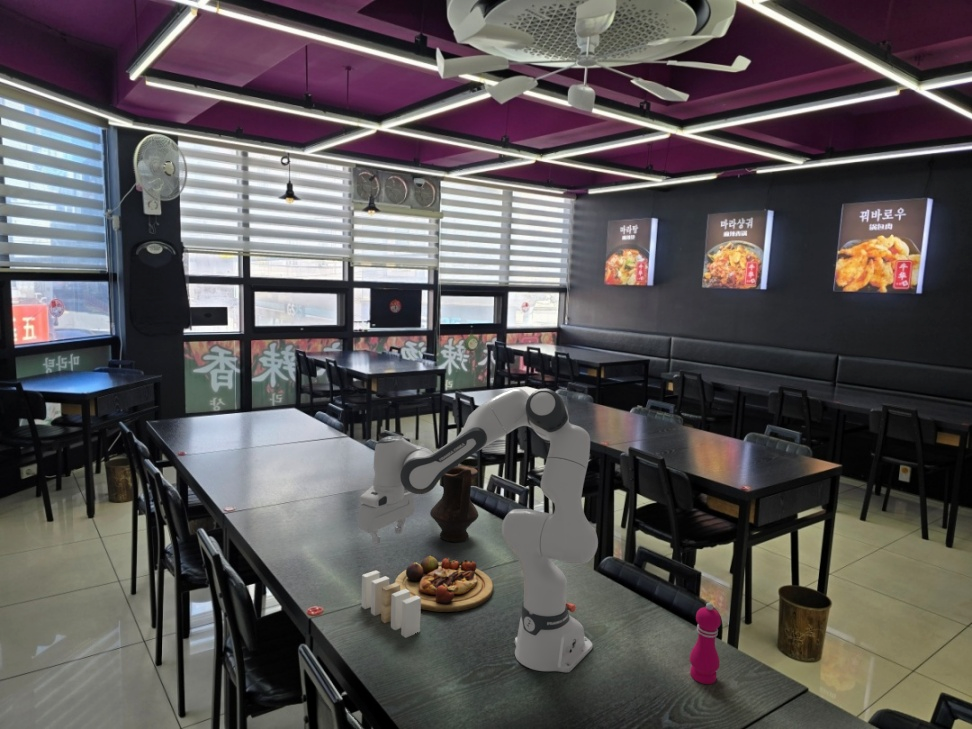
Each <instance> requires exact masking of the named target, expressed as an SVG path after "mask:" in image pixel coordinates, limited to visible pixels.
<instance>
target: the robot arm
mask: <svg viewBox="0 0 972 729" xmlns="http://www.w3.org/2000/svg"><path fill="white" fill-rule="evenodd" d="M523 426H524V427H527V428H528V430H529V431H530V432H531V433H533V435H535V437H537V438H539V439H540V440H541V441H544V442H545V443H548V444H549V450H548V454H547V457H546V461H545V465H544V469H543V472H542V476H541V480H540V488H541V489H540V490H541V492H542V494H544V496H545V497H546V498H548V500H550V501H551V502H552V503H553V504H554V511H553V513H548V512H544V511H539V510H534V509H531V508H514V509H511V510H510V511H509V512H508V513H507V514H506V515H505V517H504V518H503V520H502V523H501V524H502V525H501V536H502V538H503V540H504V543H505V544H506V545H507V546H508V547H509V548H510V549H511V550H512V552H513V553H514V555H515V557H516V558H517V560H518V562H519V564H520V567H521V570H522V575H523V586H524V587H523V589H524V590H523V591H524V592H523V593H524V594H523V601H522V603H521V604H522V605H521V610H520V612H521V615H520V620H519V624H518V630H517V631H518V632H517V636H515V638H514V645H515V649H514V655H515V658H516V660H517V661H518V662H519V663H520V665H522V666H524V667H526V668H529V669H530V670H533V671H539V672H559V673H560V672H561V673H570V672H572V671H573V669H574V668H575V667H576V666H577V665H578V664H579V663H580V662H581V661H582V660H583V659H584V658H585V657H586V656H587V655H588V654H589V653H590V652H591V651H592V649H593V648H594V647H593V642H592V641H591V640H590V639H589V638H588V637H587V636H585V629H584V626H583V625H582V623H580V621H579V620H577V619H576V618H574V617H572V616H571V615H570V614H569V611H570V612H571V613H575V611H577V610H576V609H577V605H576V604H572V603H571V602H568V603H567V590H568V582H567V577H566V575H565V574H564V572H563V571H562V570H561V569H560V568H559V567H558V566H557V565H556V564H555V563H554V561H552V560H556V561H559V562H563V563H567V564H583V565H584V564H587V563H589V561H591V560H592V559H593V558H594V557H595V555H596V553H597V550H598V546H599V545H598V544H599V540H598V535H597V532H596V530H595V528H594V527H593V525H592V524H591V523H590V522H589V520H588V519H587V517H586V515H585V512H584V508H583V502H582V495H583V488H584V484H585V478H586V475H587V469H588V466H589V461H590V452H591V451H590V450H591V436H590V434H589V432H588V431H587V430H586V429H585V428H583V427H581V426H579V425H575V424H573V423H572V422H571V420H570V416H569V412H568V408H567V406H566V404H565V403H564V399H562V397H561V395H560V394H558V393H557V392H556V391H554V390H552V389H549V388H539V389H537V390H535V391H533V392H532V393H531V394H530V395H529V394H528V392H526V391H525V390H523V389H522V388H518V387H517V388H515V387H514V388H512V389H510V390H507V391H504V392H502V393H500V394H498V395H495V396H494V397H492V398H490V399H489V400H487V401H484V402H483V403H482V404H480V405H479V406H478V407H476V408H475V410H473V411H472V412H471V413H470V414H469V415H468V416H467V419H466V421H465V424H464V425H463V427H462V430H460V432H459V434H458V435H457V436H456V437H454V439H452V440H450V441H449V442H448V443H446V444H445V445H444V446H442V447H440V448H439V449H437V450H436V451H435V452H433V451H432V450H431V448H428V447H425V446H420V445H418V444H414V443H412V442H410V441H408V440H406V439H405V438H404V437H403V436H401V435H388V436H385V437H382V438H381V439H379V440H378V441H377V442H376V444H375V448H374V454H373V469H374V477H373V481H372V482H373V485H371V486H370V487H369V488H368V489H367V490H366V491H364V492H363V494H361V495H360V497H359V503H361V505H360V507H359V511H358V529H359V530H360V531H361V532H364V533H366V534H370V537H371V542H372V544H374V545H378V544H380V543H381V537H380V536H378V533H379V530H380V529H382V528H385V527H387V526H390V525H392V524H394V523H396V522H397V524H396V526H395V527H394V533H395V534H397V535H399V534H401V533H403V527H404V525H405V523H406V518H408V517H410V516H413V515H414V514H415V510H416V506H415V505H416V503H415V502H416V501H415V495H424V494H427V493H429V492H431V491H432V490H433V489H434V488H435V487H436V486H437V484H438V483H439V481H440V480H441V479H442V478H443V475H444V474H445V473H447V472H448V471H449V470H451V469H452V468H454V467H455V466H459V465H460V464H461V463H462V462H464V461H465V460H467V459H469V458H470V457H471V456H472V455H474V454H475V453H477V452H478V451H480V450H482V449H484V448H485V447H487V446H488V445H490V444H493V443H494V442H496V441H498V440H500V439H501V438H503V437H505V436H506V435H508V434H510V433H511V432H513V431H514V430H516V429H518V428H520V427H523Z"/></svg>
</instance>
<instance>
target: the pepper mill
mask: <svg viewBox="0 0 972 729" xmlns="http://www.w3.org/2000/svg"><path fill="white" fill-rule="evenodd" d="M695 620H696V623H697V625H696V632H697V633H698V634H697V635H698V636H697V641H696V642H695V644H694V646H693V648H692V649H691V652H690V654H689V662H690V664H691V666H690V673H689V674H690V677H691V678H692V679H693V680H694V681H696V682H698V683H701V684H704V685H711V684H713V683H716V680H717V671H719V668H720V656H719V654H718V651H717V648H716V637H717V636H718V634H719V633H718V632H719V629H718V628H719V627H720V626H721V624H722V618H721V614H720V613H719V611H717V610H716V609H714V605H713V603H711V602H706V605H705V606H704V607H700V608H699V609H698V610H697V611H696V615H695Z"/></svg>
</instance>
